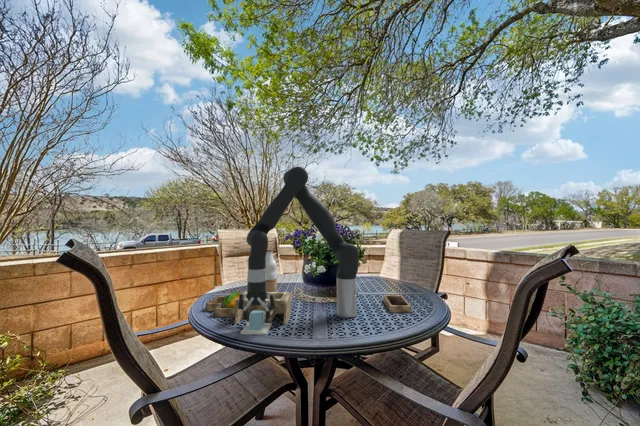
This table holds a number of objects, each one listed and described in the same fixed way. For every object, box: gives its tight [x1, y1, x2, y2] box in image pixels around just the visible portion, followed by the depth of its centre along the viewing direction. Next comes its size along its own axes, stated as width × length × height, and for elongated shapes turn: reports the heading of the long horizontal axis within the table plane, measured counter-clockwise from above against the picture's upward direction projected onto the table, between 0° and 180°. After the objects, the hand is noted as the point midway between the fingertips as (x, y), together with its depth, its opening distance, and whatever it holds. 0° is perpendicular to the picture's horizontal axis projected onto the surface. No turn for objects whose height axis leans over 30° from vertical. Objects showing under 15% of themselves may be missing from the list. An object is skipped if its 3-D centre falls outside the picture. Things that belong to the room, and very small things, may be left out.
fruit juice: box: [266, 248, 278, 292], centre depth 158 cm, size 9×9×28 cm
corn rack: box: [205, 295, 235, 318], centre depth 145 cm, size 28×28×4 cm
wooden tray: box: [383, 294, 412, 313], centre depth 147 cm, size 10×19×3 cm, turn 177°
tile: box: [240, 322, 273, 336], centre depth 116 cm, size 10×10×1 cm
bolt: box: [387, 296, 408, 306], centre depth 146 cm, size 6×5×15 cm
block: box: [248, 310, 266, 330], centre depth 116 cm, size 5×5×6 cm
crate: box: [234, 291, 292, 325], centre depth 129 cm, size 22×14×10 cm, turn 87°
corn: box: [223, 290, 243, 308], centre depth 146 cm, size 7×8×20 cm
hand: (256, 319), depth 116 cm, fingers open, 8 cm apart
